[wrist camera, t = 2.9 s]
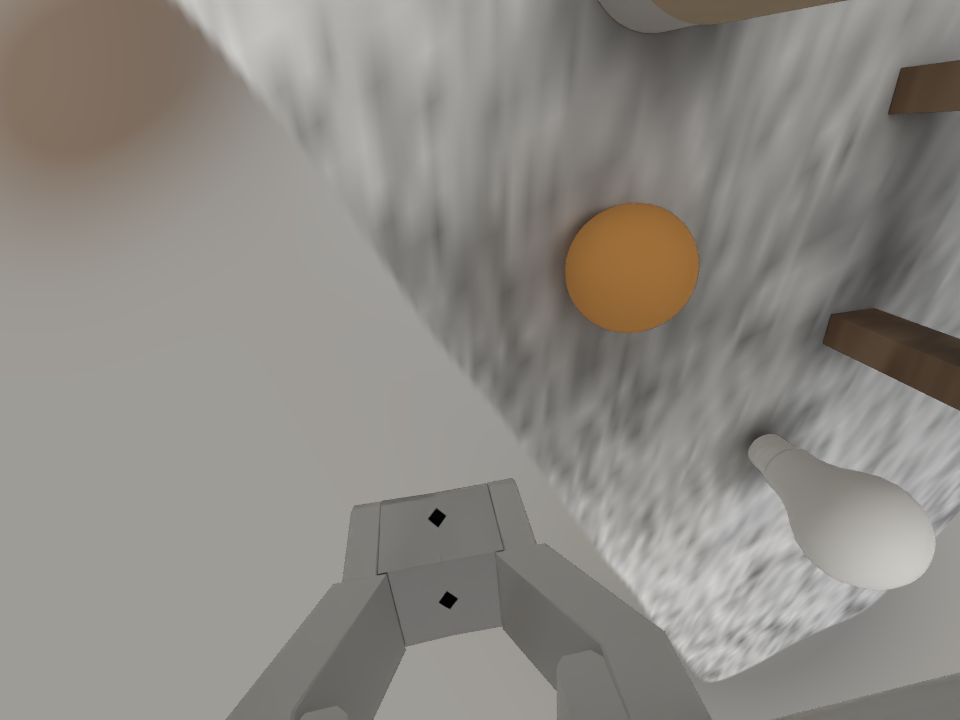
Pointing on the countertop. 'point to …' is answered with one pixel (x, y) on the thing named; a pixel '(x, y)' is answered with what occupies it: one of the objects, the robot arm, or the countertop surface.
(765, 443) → the lightbulb
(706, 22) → the coffee cup
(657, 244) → the ball
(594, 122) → the countertop surface
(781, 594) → the countertop surface
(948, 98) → the bridge
